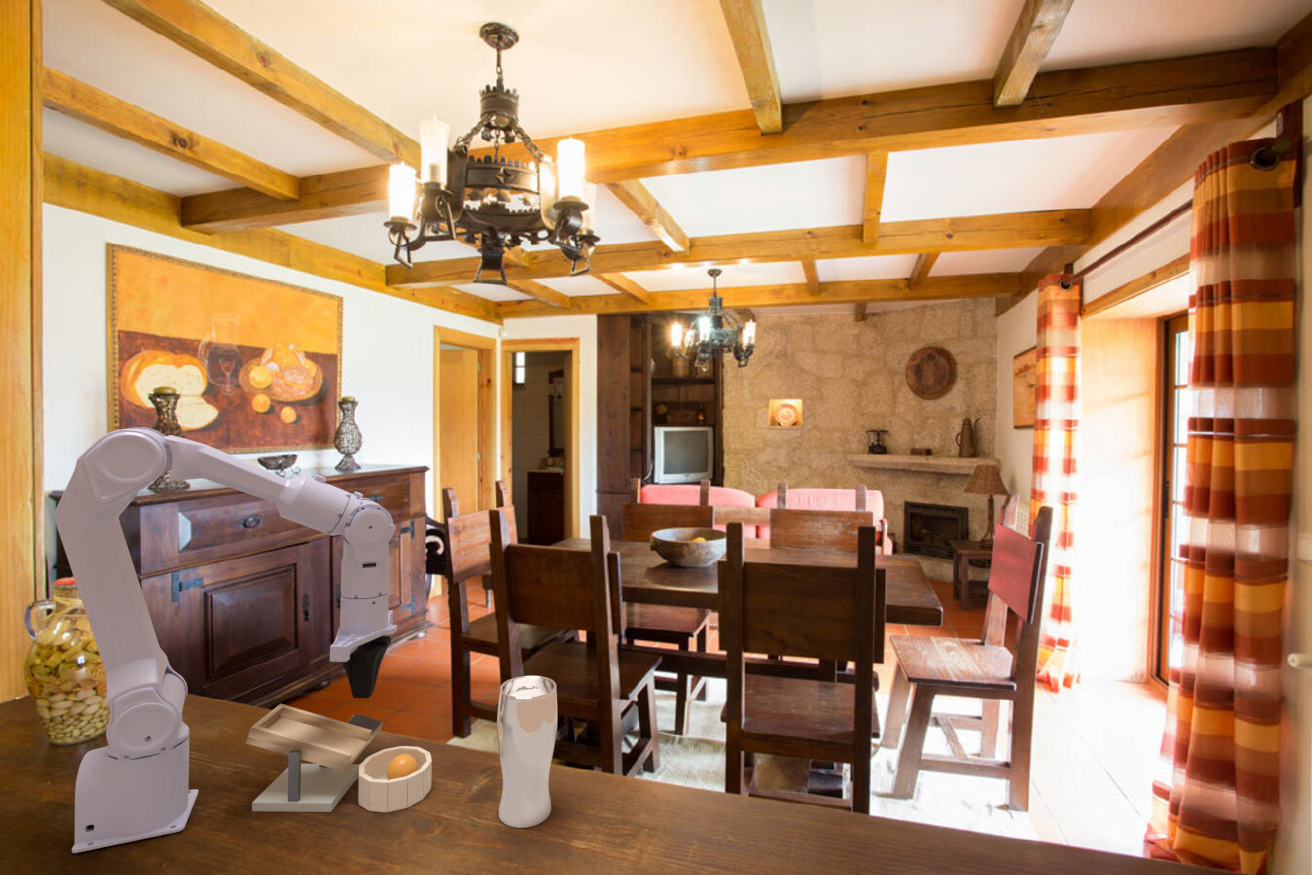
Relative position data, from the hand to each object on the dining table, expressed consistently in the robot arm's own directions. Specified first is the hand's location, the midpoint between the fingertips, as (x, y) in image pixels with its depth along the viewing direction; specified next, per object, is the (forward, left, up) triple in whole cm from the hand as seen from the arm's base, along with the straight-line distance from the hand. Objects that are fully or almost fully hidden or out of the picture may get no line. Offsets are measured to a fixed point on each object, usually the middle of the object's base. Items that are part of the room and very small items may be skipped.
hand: (362, 696), depth 83 cm
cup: (+4, -8, -9) cm, 13 cm away
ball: (+4, -7, -7) cm, 11 cm away
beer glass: (+17, -18, -10) cm, 27 cm away
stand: (-6, -3, -9) cm, 12 cm away
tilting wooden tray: (-5, -1, -4) cm, 6 cm away
